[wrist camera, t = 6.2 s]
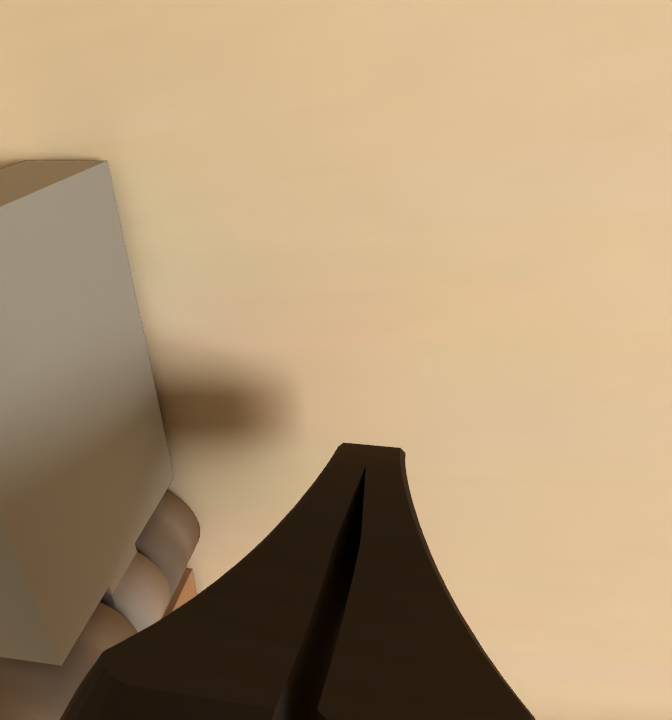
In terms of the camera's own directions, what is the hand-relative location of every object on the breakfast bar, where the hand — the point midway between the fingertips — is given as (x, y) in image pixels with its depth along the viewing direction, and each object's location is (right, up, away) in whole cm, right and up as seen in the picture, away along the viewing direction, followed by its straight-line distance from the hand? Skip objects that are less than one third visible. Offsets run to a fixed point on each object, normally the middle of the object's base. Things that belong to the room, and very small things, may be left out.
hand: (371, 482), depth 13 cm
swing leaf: (-7, +2, +4) cm, 8 cm away
